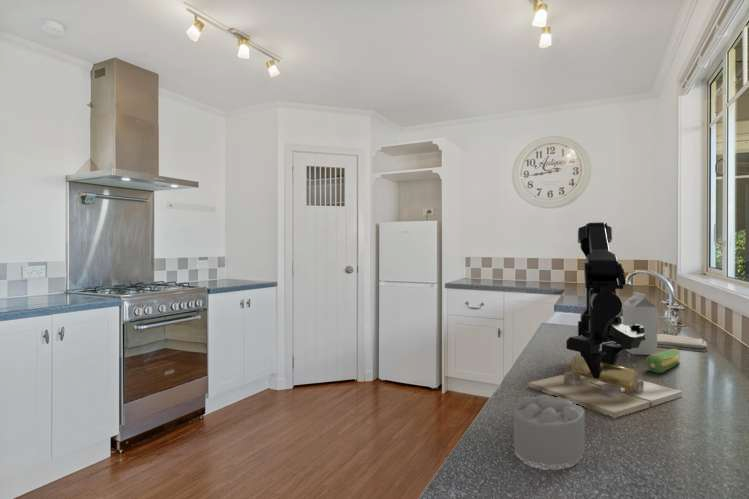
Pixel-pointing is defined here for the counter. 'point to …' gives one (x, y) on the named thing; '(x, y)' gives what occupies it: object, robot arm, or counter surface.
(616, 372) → the hinge pin
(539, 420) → the lumpy-topped squat cylinder
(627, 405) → the hinge leaves
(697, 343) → the washcloth
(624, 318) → the milk carton
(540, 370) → the counter surface
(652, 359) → the edible corn
